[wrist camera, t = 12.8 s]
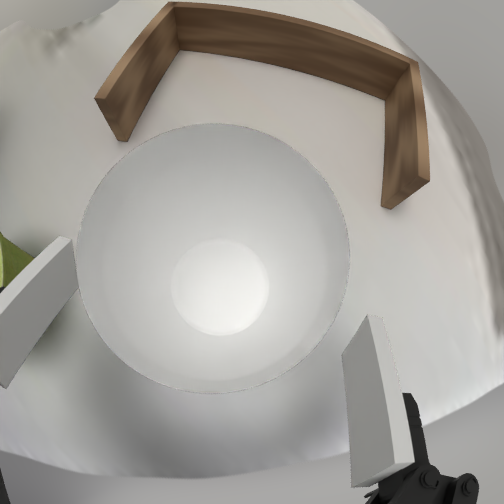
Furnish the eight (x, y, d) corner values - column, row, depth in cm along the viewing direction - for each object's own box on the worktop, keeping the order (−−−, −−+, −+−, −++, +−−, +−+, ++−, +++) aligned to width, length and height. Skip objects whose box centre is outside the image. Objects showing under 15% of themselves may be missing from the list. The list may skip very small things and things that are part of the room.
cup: (311, 282, 21) (402, 241, 9) (223, 379, 19) (218, 454, 8) (218, 198, 22) (210, 82, 10) (129, 287, 20) (29, 251, 8)
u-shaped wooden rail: (390, 209, 23) (429, 181, 18) (117, 140, 23) (94, 97, 17) (393, 97, 26) (417, 62, 21) (174, 43, 26) (168, 1, 20)
